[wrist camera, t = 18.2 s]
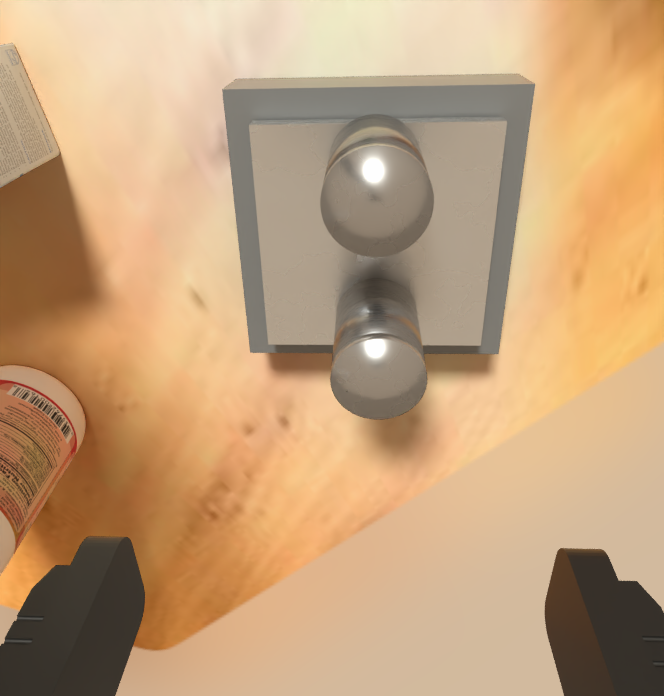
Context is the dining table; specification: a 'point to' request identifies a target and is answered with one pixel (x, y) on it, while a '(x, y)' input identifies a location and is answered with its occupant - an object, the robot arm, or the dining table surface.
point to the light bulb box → (21, 121)
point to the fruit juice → (32, 447)
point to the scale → (399, 102)
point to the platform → (349, 268)
